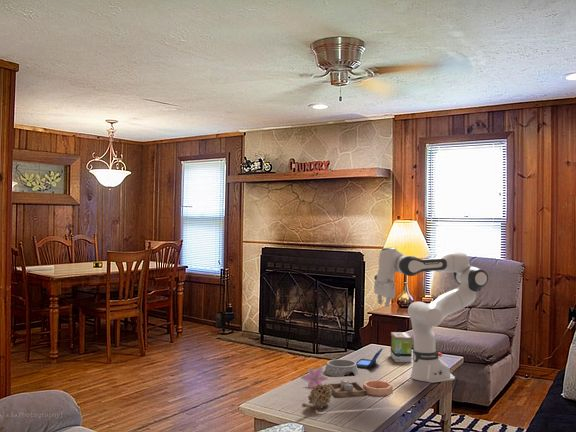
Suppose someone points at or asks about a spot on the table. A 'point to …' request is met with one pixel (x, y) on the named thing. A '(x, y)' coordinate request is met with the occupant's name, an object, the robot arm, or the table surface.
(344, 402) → the table surface
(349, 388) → the grey rounded cylinder
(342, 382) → the pebble
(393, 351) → the tea box
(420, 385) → the table surface
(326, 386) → the pine cone
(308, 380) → the lily
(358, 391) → the tray
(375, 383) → the bowl
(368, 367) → the handheld game console
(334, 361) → the dog bowl
